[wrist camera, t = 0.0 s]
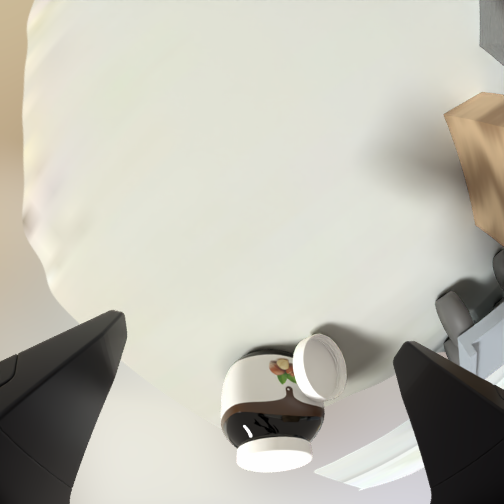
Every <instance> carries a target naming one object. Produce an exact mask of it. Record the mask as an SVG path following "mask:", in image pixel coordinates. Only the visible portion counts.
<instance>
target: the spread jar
mask: <svg viewBox="0 0 504 504" xmlns="http://www.w3.org/2000/svg"><path fill="white" fill-rule="evenodd" d="M346 381H347V369H346V363H345V360H344V357H343V355H342V352H341V350H340V349H339V347H338V346H337V344H336V343H335V342H334V341H333V340H332V339H331V338H329V337H328V336H326V335H324V334H315V335H312V336H310V337H307V338H305V339H303V340H301V341H300V342H299V343H298V345H297V347H296V348H295V351H294V355H293V354H290V353H288V352H285V351H280V350H262V351H257V352H253V353H250V354H247V355H245V356H243V357H241V358H240V359H238V360H237V361H236V362H235V363H234V364H233V365H232V366H231V368H230V369H229V371H228V372H227V375H226V377H225V380H224V384H223V389H222V397H221V426H222V430H223V433H224V435H225V436H226V438H227V439H228V440H229V442H230V443H231V444H232V445H234V446H235V447H236V448H237V449H238V450H237V464H238V465H239V466H240V467H241V468H243V469H246V470H250V471H256V472H279V471H286V470H292V469H295V468H298V467H301V466H304V465H306V464H307V463H309V462H310V461H311V460H312V459H313V454H312V448H311V443H310V442H311V441H312V440H313V439H314V438H315V436H316V435H317V433H318V432H319V430H320V428H321V426H322V423H323V420H324V414H325V413H324V403H323V401H328V400H332V399H336V398H337V397H339V396H340V395H341V394H342V392H343V391H344V388H345V386H346Z"/></svg>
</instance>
